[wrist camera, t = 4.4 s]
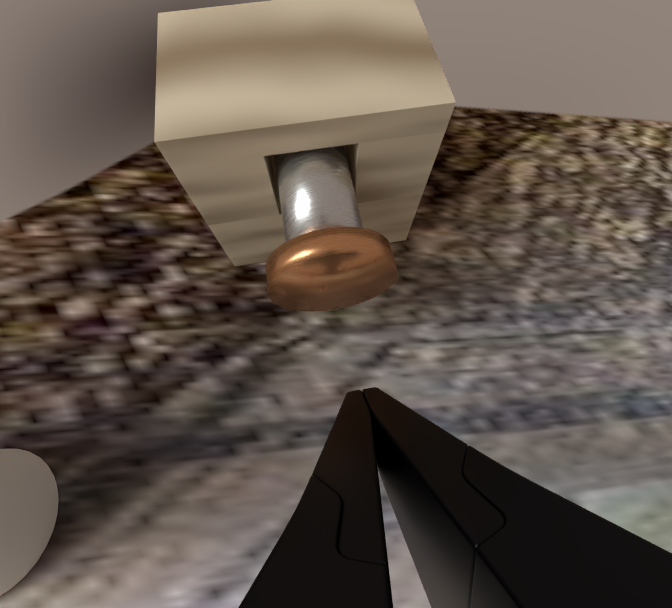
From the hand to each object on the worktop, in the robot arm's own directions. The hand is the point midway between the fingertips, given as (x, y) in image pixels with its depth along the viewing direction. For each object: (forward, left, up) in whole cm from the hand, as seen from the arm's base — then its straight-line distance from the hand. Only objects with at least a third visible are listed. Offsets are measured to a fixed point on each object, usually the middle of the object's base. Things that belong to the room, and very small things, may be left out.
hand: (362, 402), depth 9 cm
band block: (+9, -11, -11) cm, 18 cm away
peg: (+6, -7, -7) cm, 12 cm away
